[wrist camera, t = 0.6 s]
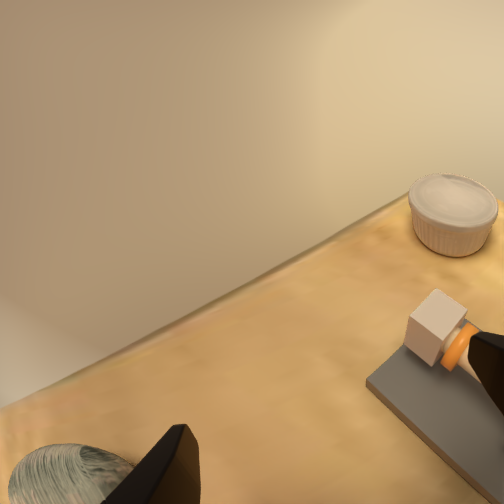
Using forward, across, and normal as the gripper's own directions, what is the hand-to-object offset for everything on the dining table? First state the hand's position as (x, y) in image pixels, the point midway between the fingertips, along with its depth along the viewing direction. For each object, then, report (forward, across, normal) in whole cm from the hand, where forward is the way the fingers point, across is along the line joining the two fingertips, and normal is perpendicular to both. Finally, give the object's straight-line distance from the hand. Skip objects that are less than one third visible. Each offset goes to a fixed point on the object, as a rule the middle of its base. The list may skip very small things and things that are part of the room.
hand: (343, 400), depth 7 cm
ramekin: (+23, -22, +5) cm, 32 cm away
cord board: (+4, -13, +14) cm, 19 cm away
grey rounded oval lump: (+6, +21, +16) cm, 27 cm away
